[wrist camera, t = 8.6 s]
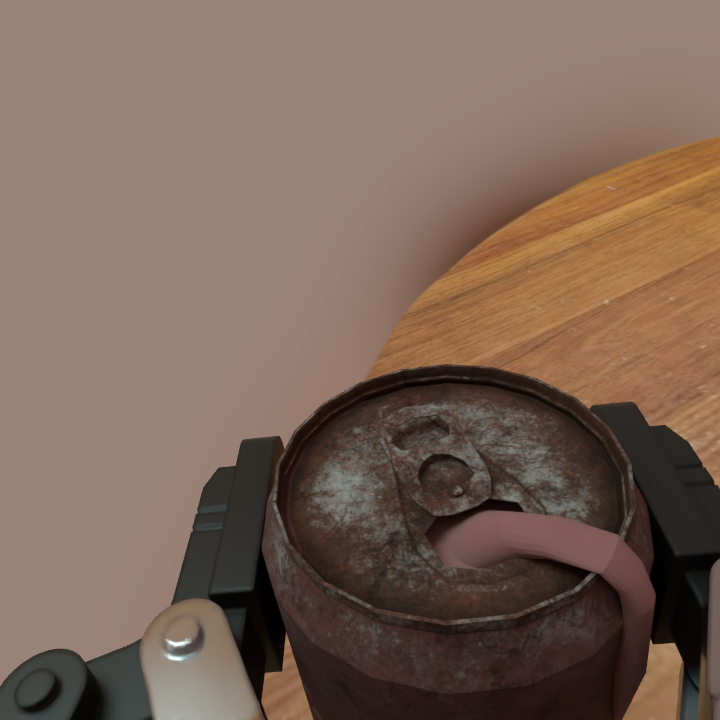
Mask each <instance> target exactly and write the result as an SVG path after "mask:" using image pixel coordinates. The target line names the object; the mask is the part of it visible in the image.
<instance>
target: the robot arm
mask: <svg viewBox="0 0 720 720" xmlns="http://www.w3.org/2000/svg"><path fill="white" fill-rule="evenodd" d="M590 410H591V411H592V412H593V413H594V414H595V415H596V416H598V417H599V418H600V419H601V420H602V421H603V422H605V423H606V424H607V425H608V426H609V427H610V428H611V430H612V432H613V433H614V435H615V437H616V438H617V440H618V442H619V444H620V445H621V447H622V449H623V450H624V452H625V454H626V456H627V457H628V459H629V461H630V462H631V464H632V473H633V480H634V482H635V484H636V486H637V487H638V489H639V491H640V493H641V494H642V496H643V498H644V500H645V501H646V504H647V508H648V512H649V518H650V525H651V533H652V541H653V548H654V560H653V565H652V569H651V573H650V578H649V579H650V581H651V584H652V586H653V589H654V591H655V595H656V599H655V607H654V614H653V622H652V629H651V637H650V638H651V641H652V643H653V644H666V643H675V644H676V646H677V649H678V651H679V653H680V655H681V657H682V659H683V661H682V664H681V668H680V673H679V688H678V702H677V717H676V720H720V489H719V487H718V486H717V485H715V484H714V480H713V478H712V477H711V475H710V474H709V472H708V471H707V470H706V468H703V466H702V462H701V461H700V459H699V458H698V456H697V455H696V453H695V452H694V450H693V449H692V447H691V446H690V444H689V443H688V442H687V441H686V440H685V439H683V438H682V437H680V436H679V435H678V434H676V433H675V432H674V431H672V430H671V429H670V428H668V427H667V426H666V425H660V426H649V425H648V423H647V422H646V420H645V418H644V417H643V415H642V413H641V412H640V410H639V408H638V407H637V405H636V404H635V403H633V402H621V403H611V404H601V405H593V406H592V407H591V408H590ZM283 452H284V446H283V443H282V440H281V438H280V436H273V437H263V438H253V439H244V440H242V442H241V445H240V449H239V454H238V458H237V463H236V466H231V467H221V468H218V469H217V471H216V472H215V473H214V474H213V476H212V477H211V478H210V480H209V481H208V482H207V484H206V485H205V486H204V487H203V491H202V494H201V498H200V502H199V505H198V509H197V510H198V514H196V516H195V520H194V524H193V532H191V535H190V538H189V542H188V546H187V549H186V553H185V557H184V561H183V564H182V568H181V572H180V575H179V579H178V583H177V586H176V590H175V594H174V597H173V600H172V603H171V606H170V607H168V608H167V609H165V610H164V611H162V612H161V613H160V614H159V615H158V616H157V617H156V618H155V619H154V620H153V621H152V622H151V623H150V625H149V626H148V628H147V629H146V631H145V633H144V635H143V637H142V638H141V639H139V640H138V641H136V642H134V643H132V644H130V645H128V646H126V647H123V648H121V649H118V650H115V651H113V652H110V653H108V654H105V655H103V656H100V657H98V658H95V659H92V660H90V661H87V662H84V661H83V659H82V658H81V657H80V655H78V654H77V653H76V652H74V651H71V650H68V649H53V650H48V651H45V652H42V653H39V654H38V655H35V656H33V657H31V658H30V659H28V660H27V661H25V662H24V663H22V664H21V665H20V666H18V667H17V668H16V669H15V670H14V671H13V672H12V673H11V674H10V675H9V676H8V677H7V678H6V679H5V681H4V682H3V683H2V685H1V686H0V720H268V718H267V715H266V713H265V710H264V707H263V705H262V702H261V699H262V691H263V683H264V674H265V673H268V672H280V671H282V666H283V656H284V645H285V635H286V629H285V626H284V622H283V619H282V616H281V613H280V609H279V606H278V603H277V600H276V597H275V593H274V590H273V586H272V583H271V580H270V576H269V573H268V570H267V566H266V563H265V559H264V556H263V553H262V549H261V545H262V538H263V530H264V522H265V515H266V507H267V500H268V498H269V496H270V493H271V491H272V488H273V486H274V483H275V474H276V465H277V463H278V461H279V459H280V457H281V455H282V454H283Z"/></svg>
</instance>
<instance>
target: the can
mask: <svg viewBox="0 0 720 720" xmlns="http://www.w3.org/2000/svg"><path fill="white" fill-rule="evenodd" d="M261 549H262V553H263V556H264V559H265V563H266V566H267V570H268V573H269V576H270V580H271V583H272V586H273V590H274V593H275V597H276V600H277V603H278V606H279V609H280V613H281V616H282V619H283V622H284V626H285V629H286V632H287V635H288V638H289V642H290V645H291V648H292V651H293V655H294V658H295V661H296V664H297V667H298V671H299V674H300V677H301V680H302V684H303V687H304V690H305V693H306V696H307V700H308V703H309V706H310V709H311V713H312V716H313V719H314V720H622V719H623V717H624V715H625V713H626V711H627V709H628V707H629V705H630V703H631V701H632V699H633V697H634V695H635V693H636V691H637V689H638V687H639V685H640V683H641V681H642V679H643V677H644V675H645V673H646V667H647V660H648V652H649V644H650V637H651V629H652V622H653V614H654V607H655V599H656V595H655V591H654V589H653V586H652V584H651V581H650V579H649V578H650V573H651V569H652V565H653V560H654V548H653V541H652V533H651V525H650V518H649V512H648V508H647V504H646V501H645V500H644V498H643V496H642V494H641V493H640V491H639V489H638V487H637V486H636V484H635V482H634V480H633V473H632V464H631V462H630V461H629V459H628V457H627V456H626V454H625V452H624V450H623V449H622V447H621V445H620V444H619V442H618V440H617V438H616V437H615V435H614V433H613V432H612V430H611V428H610V427H609V426H608V425H607V424H606V423H605V422H603V421H602V420H601V419H600V418H599V417H598V416H596V415H595V414H594V413H593V412H592V411H591V410H589V409H588V408H587V407H586V406H585V405H584V404H583V403H581V402H580V401H579V400H578V399H577V398H575V397H573V396H571V395H569V394H567V393H565V392H563V391H561V390H559V389H557V388H555V387H553V386H551V385H549V384H546V383H544V382H542V381H540V380H538V379H536V378H533V377H529V376H525V375H521V374H517V373H513V372H509V371H505V370H501V369H497V368H493V367H483V366H466V365H450V364H444V365H435V366H427V367H418V368H410V369H402V370H398V371H395V372H392V373H389V374H386V375H382V376H379V377H376V378H373V379H370V380H366V381H363V382H360V383H358V384H357V385H355V386H353V387H351V388H349V389H348V390H346V391H344V392H342V393H341V394H339V395H337V396H335V397H333V398H332V399H330V400H328V401H326V402H325V403H323V404H322V405H321V406H320V407H319V408H318V409H317V410H316V411H315V412H314V413H313V414H312V415H311V416H310V417H309V418H307V420H305V421H304V422H303V423H302V424H301V425H300V426H299V427H298V428H297V429H296V430H295V431H294V433H293V435H292V437H291V439H290V441H289V442H288V444H287V446H286V448H285V450H284V452H283V454H282V455H281V457H280V459H279V461H278V463H277V465H276V474H275V483H274V486H273V488H272V491H271V493H270V496H269V498H268V500H267V507H266V515H265V522H264V530H263V538H262V545H261Z"/></svg>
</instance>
